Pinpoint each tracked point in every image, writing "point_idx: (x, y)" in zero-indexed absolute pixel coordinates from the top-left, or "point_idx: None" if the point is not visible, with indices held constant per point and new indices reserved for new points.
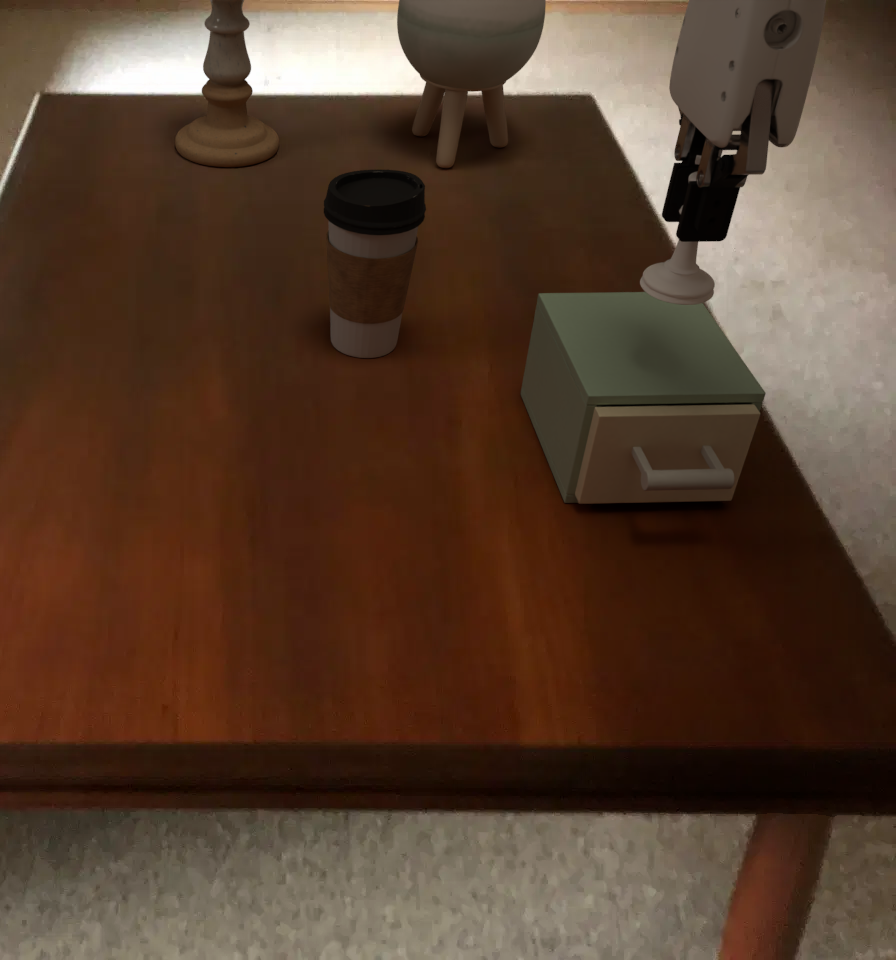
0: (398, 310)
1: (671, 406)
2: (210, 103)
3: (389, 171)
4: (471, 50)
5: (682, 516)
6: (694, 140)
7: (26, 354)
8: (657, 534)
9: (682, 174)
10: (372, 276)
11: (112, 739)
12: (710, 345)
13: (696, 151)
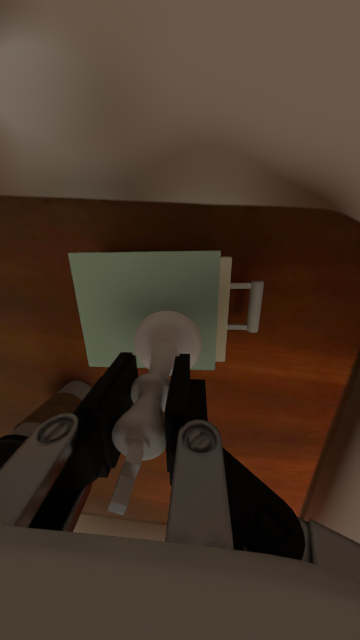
0: (75, 400)
1: (218, 316)
2: None
3: None
4: None
5: None
6: (53, 499)
7: (108, 498)
8: (235, 299)
9: (116, 456)
10: None
11: (308, 485)
12: (152, 270)
13: (81, 479)
